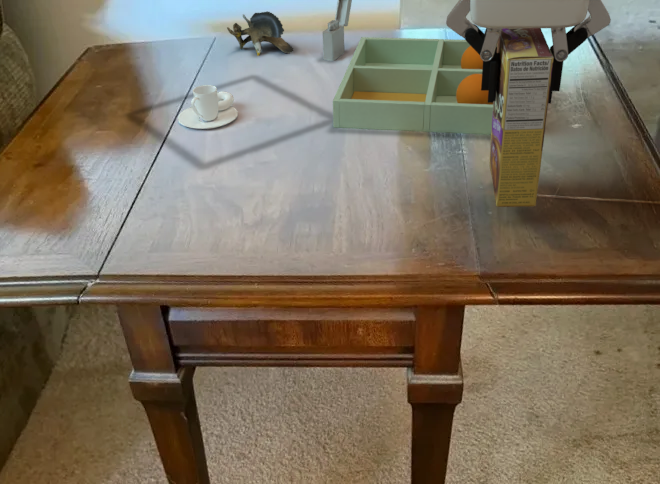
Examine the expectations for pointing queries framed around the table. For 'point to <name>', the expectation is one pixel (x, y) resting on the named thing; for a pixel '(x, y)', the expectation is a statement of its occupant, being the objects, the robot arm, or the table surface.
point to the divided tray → (408, 88)
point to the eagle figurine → (262, 32)
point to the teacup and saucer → (208, 108)
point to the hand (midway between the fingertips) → (519, 95)
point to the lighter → (336, 32)
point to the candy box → (519, 115)
